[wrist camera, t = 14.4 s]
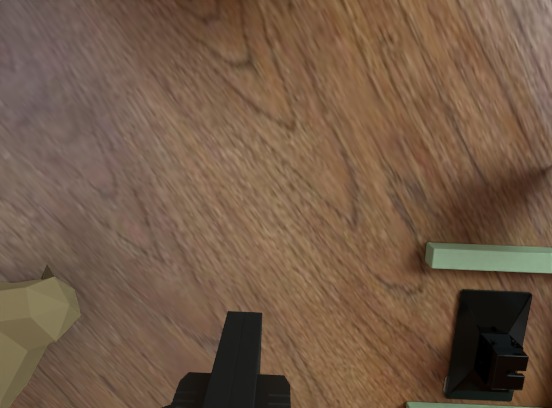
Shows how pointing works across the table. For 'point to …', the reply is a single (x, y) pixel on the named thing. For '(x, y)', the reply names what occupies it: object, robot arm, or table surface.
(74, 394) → the table surface
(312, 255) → the table surface
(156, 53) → the table surface
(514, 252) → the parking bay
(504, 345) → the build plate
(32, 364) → the tan faceted lump
